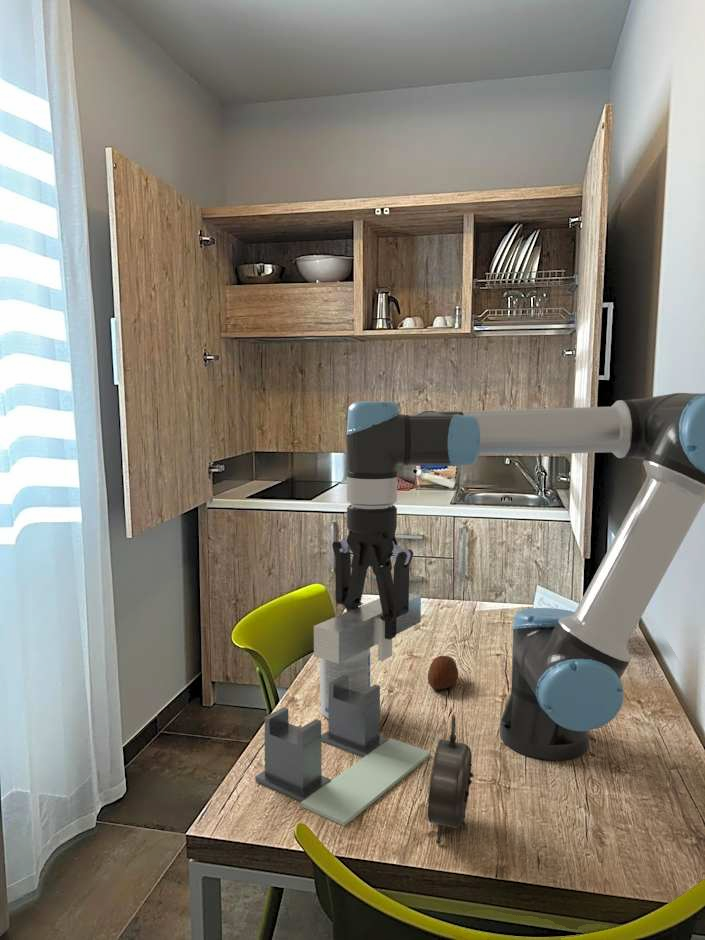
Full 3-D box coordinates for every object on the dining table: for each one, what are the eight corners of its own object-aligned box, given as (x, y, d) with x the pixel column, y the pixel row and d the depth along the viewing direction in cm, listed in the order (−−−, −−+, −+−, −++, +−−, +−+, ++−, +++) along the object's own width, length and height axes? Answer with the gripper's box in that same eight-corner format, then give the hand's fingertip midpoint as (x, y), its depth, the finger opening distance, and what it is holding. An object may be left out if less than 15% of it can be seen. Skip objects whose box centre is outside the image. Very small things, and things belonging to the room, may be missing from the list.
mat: (430, 755, 118) (430, 752, 118) (344, 826, 99) (344, 822, 99) (390, 741, 123) (390, 737, 123) (300, 806, 104) (300, 802, 104)
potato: (463, 677, 150) (463, 648, 150) (452, 699, 140) (453, 668, 139) (435, 673, 152) (435, 644, 152) (422, 695, 142) (423, 664, 141)
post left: (331, 784, 109) (331, 720, 108) (304, 803, 104) (304, 736, 103) (282, 763, 115) (282, 703, 114) (255, 781, 110) (254, 717, 109)
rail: (420, 622, 116) (421, 595, 115) (338, 663, 98) (338, 632, 98) (397, 616, 118) (397, 590, 118) (313, 656, 101) (313, 625, 100)
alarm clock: (438, 801, 105) (440, 697, 103) (474, 807, 103) (477, 702, 102) (424, 847, 95) (426, 732, 93) (465, 854, 93) (468, 738, 91)
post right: (388, 743, 122) (388, 685, 121) (366, 758, 117) (367, 698, 116) (342, 726, 128) (342, 671, 127) (319, 740, 123) (319, 683, 122)
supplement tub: (380, 716, 132) (380, 640, 131) (337, 729, 127) (337, 650, 125) (351, 697, 140) (352, 625, 139) (310, 708, 135) (310, 634, 133)
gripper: (435, 507, 104) (432, 659, 106) (340, 495, 114) (340, 635, 117) (408, 514, 98) (406, 675, 100) (310, 501, 108) (311, 648, 111)
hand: (370, 653), depth 109 cm, fingers closed on rail, 4 cm apart
